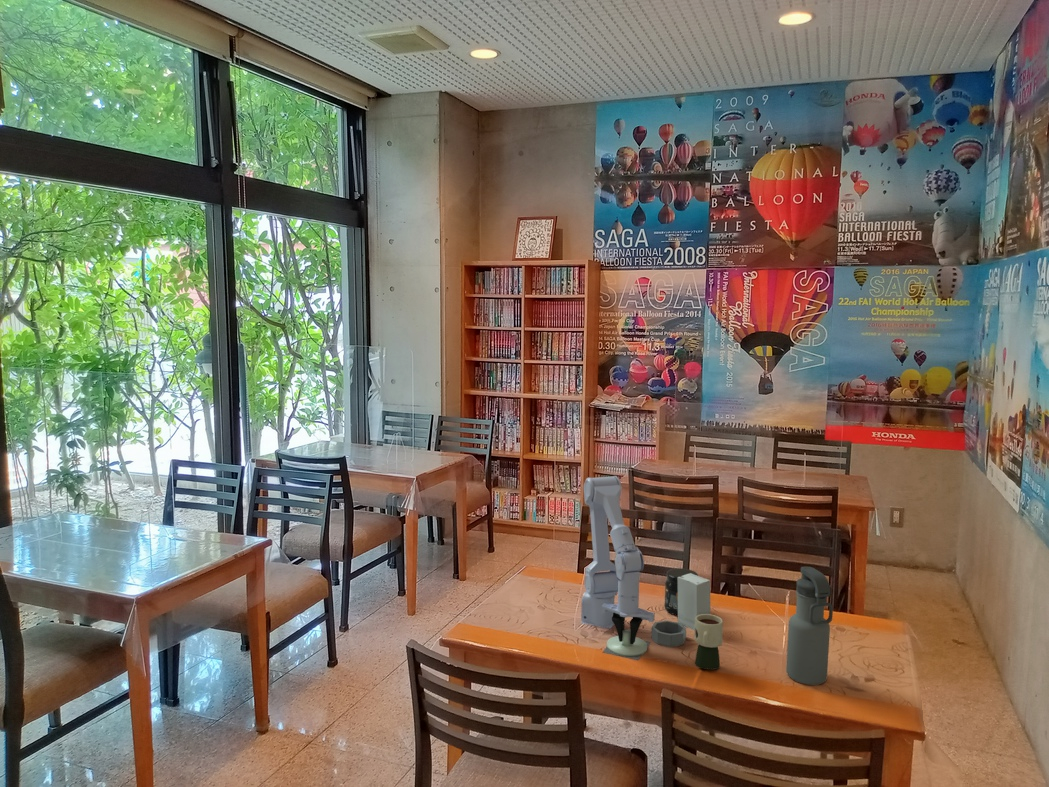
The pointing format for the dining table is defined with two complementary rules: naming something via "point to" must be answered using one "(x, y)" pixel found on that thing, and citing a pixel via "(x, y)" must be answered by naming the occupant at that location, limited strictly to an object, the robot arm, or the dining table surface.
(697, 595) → the skincare box
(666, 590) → the supplement container
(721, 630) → the character mug
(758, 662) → the dining table surface
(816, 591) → the water bottle
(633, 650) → the lid
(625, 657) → the mat
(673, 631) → the bowl
